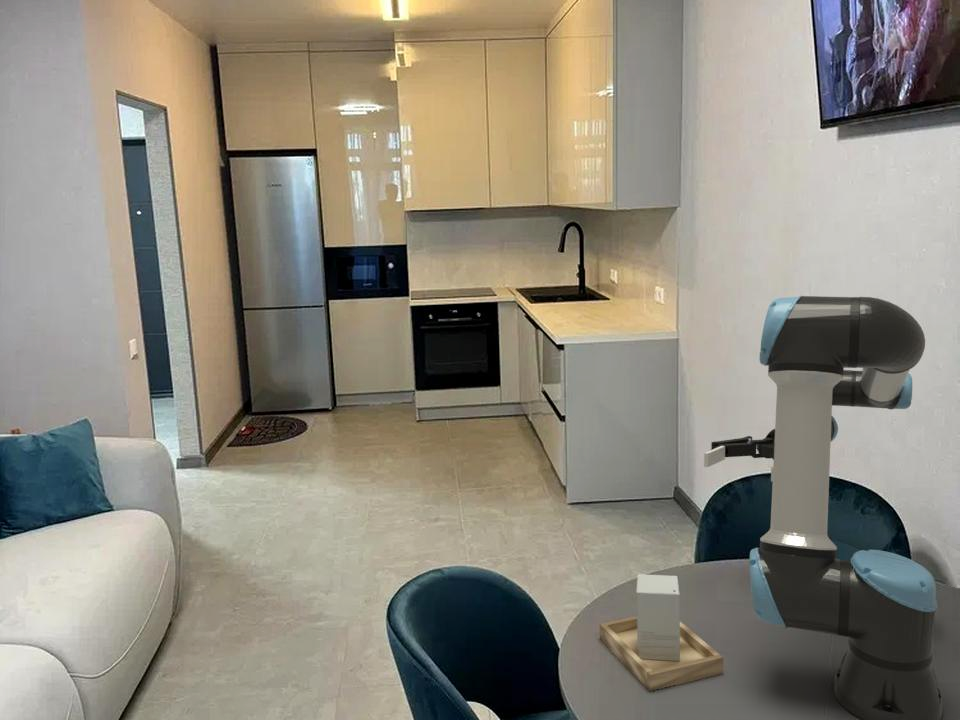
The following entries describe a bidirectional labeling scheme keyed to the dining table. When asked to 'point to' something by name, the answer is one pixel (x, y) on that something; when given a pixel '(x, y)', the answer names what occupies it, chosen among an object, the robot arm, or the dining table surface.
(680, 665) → the tray
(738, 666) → the dining table surface
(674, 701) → the dining table surface
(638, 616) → the supplement box
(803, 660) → the dining table surface
